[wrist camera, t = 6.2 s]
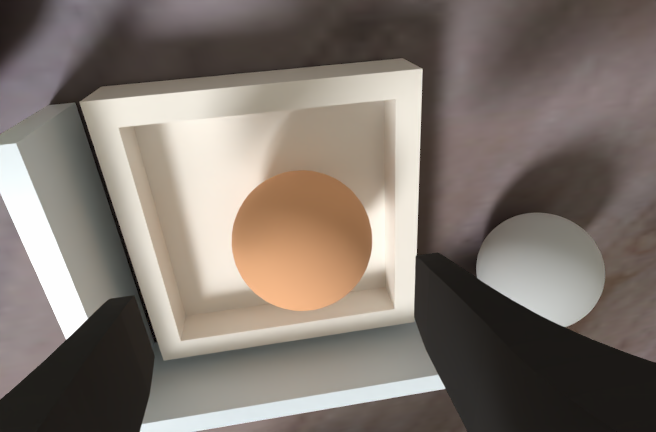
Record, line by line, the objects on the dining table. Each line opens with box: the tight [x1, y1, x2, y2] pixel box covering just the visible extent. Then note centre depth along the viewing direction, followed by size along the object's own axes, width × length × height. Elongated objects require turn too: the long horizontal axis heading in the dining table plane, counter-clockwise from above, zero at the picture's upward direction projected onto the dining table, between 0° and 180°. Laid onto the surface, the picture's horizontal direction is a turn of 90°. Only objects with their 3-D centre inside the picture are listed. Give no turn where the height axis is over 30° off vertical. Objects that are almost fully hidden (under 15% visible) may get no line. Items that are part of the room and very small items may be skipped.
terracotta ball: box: [232, 170, 372, 311], centre depth 14 cm, size 4×4×4 cm
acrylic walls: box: [0, 103, 446, 432], centre depth 15 cm, size 11×15×4 cm
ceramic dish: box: [80, 58, 423, 361], centre depth 16 cm, size 10×10×2 cm
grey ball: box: [476, 213, 605, 327], centre depth 17 cm, size 4×4×4 cm
